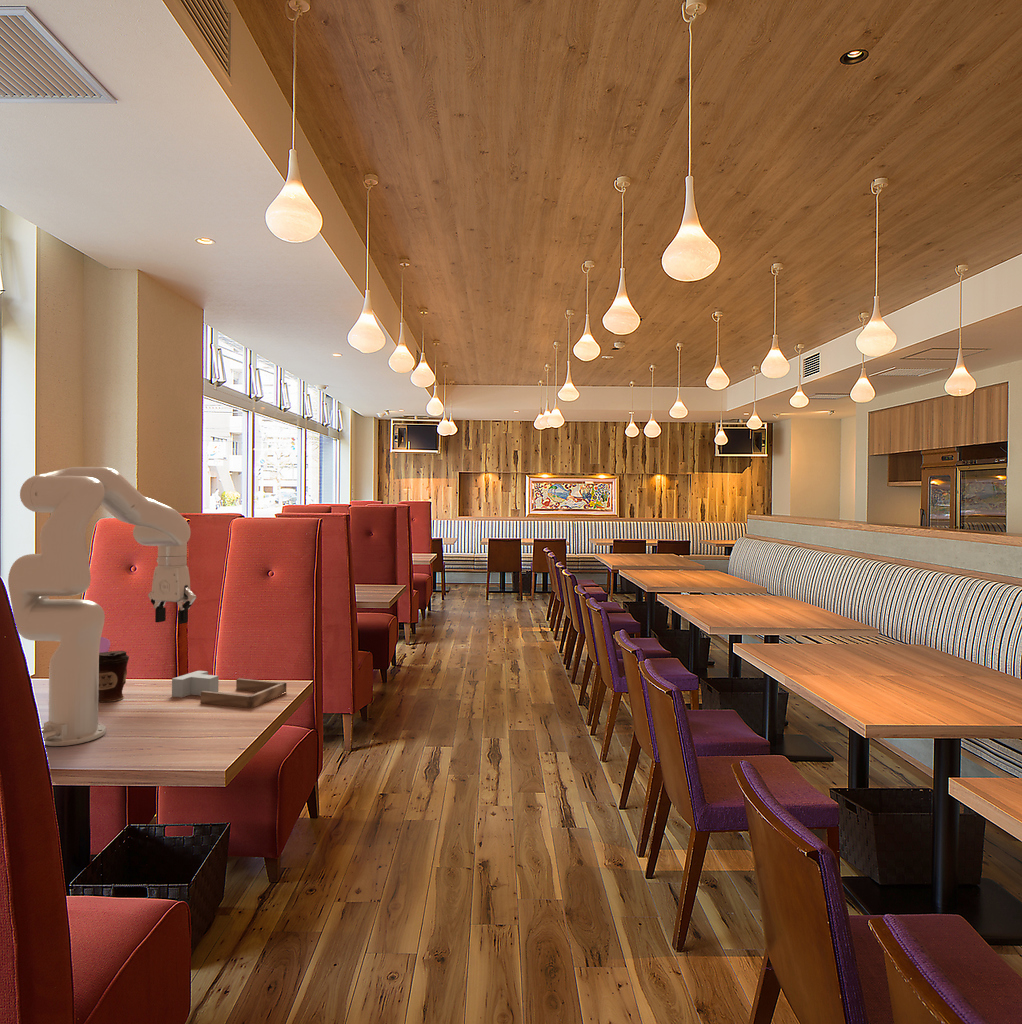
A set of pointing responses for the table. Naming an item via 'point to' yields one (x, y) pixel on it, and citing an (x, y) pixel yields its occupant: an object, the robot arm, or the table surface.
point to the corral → (264, 689)
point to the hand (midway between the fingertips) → (171, 622)
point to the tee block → (194, 684)
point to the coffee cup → (112, 675)
